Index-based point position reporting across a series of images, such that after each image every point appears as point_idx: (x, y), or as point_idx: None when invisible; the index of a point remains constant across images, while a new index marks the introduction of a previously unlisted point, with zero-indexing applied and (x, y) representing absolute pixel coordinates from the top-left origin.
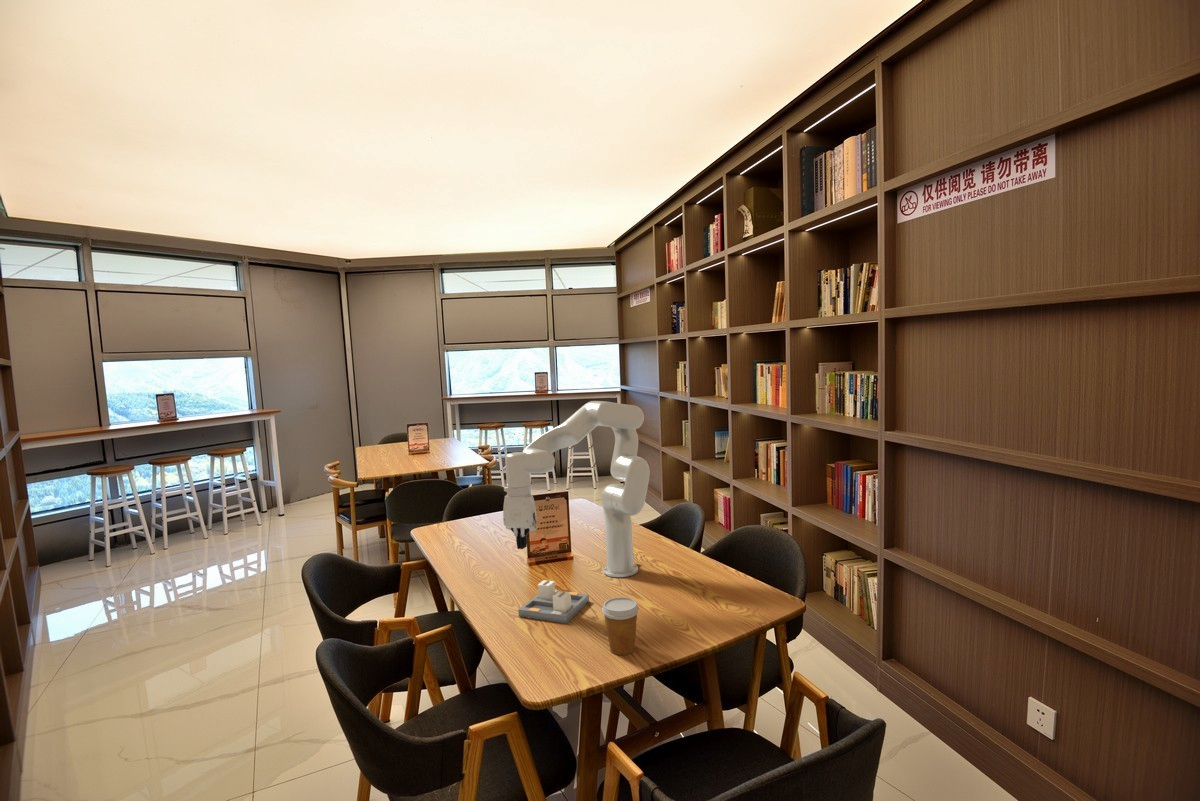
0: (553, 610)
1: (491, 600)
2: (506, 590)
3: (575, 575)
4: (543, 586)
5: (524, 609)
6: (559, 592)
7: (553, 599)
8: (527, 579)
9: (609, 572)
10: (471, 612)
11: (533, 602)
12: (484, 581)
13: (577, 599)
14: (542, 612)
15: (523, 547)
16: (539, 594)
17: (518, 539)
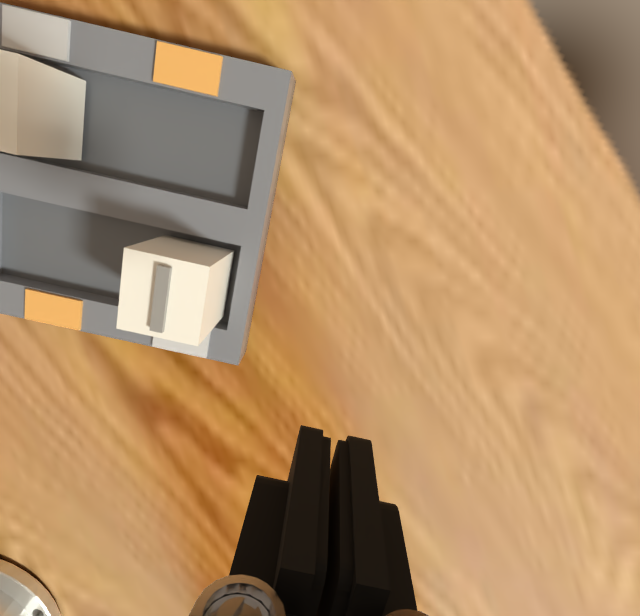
0: (76, 78)
1: (514, 283)
2: (466, 406)
3: (175, 574)
4: (167, 255)
5: (253, 73)
6: (4, 137)
7: (25, 57)
8: None
9: (5, 584)
10: (591, 118)
11: (246, 208)
12: (615, 506)
13: (35, 281)
14: (127, 37)
15: (291, 470)
16: (216, 254)
17: (349, 542)
